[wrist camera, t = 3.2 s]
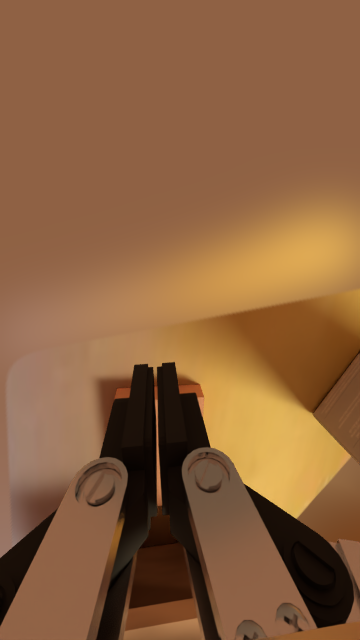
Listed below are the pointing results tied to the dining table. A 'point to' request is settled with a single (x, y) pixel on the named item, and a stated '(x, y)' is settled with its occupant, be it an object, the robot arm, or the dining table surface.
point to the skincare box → (344, 410)
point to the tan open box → (161, 597)
